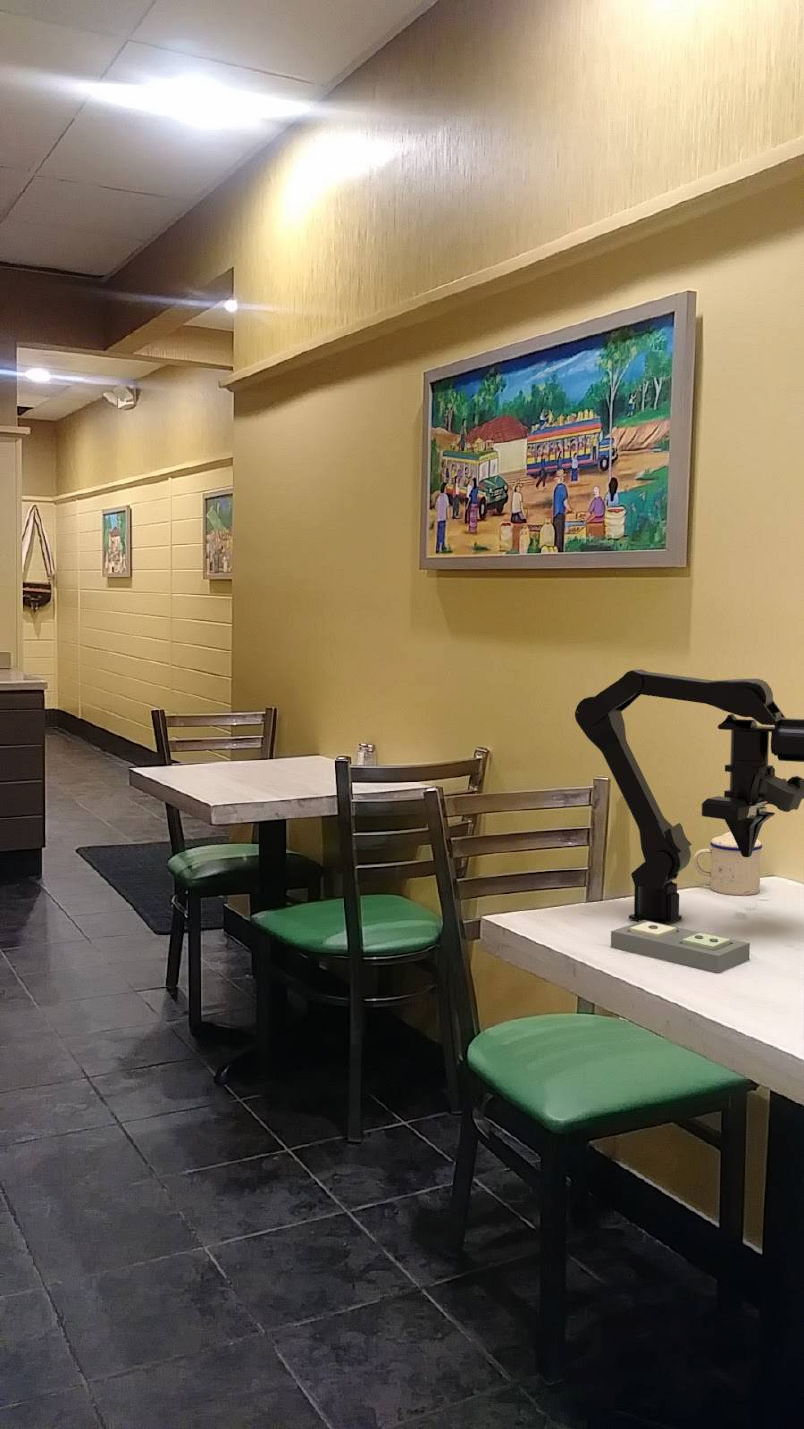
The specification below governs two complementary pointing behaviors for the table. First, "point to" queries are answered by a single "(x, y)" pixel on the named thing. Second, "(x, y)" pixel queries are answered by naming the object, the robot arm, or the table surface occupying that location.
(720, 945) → the sage tile two
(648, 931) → the cream tile one
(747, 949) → the panel
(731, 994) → the table surface
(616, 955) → the table surface
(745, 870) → the teacup with lid
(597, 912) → the table surface
